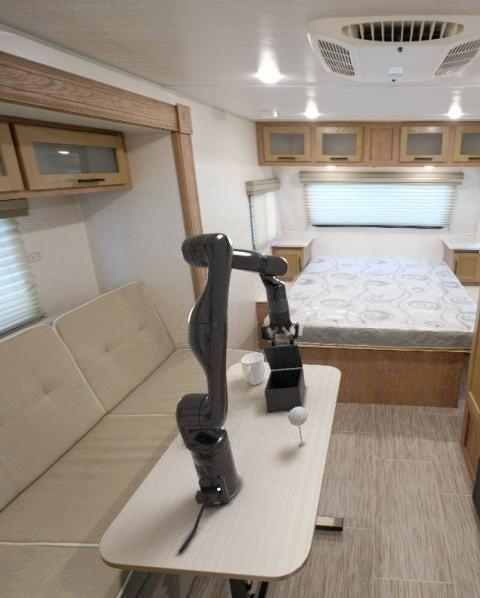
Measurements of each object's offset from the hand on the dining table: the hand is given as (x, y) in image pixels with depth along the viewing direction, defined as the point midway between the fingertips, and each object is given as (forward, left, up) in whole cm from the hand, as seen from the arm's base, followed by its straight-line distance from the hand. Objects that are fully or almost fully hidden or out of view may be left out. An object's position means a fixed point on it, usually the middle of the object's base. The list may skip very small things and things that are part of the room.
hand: (283, 348), depth 134 cm
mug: (+7, +15, -20) cm, 26 cm away
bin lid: (-3, 0, -3) cm, 4 cm away
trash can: (-6, 0, -20) cm, 21 cm away
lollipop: (-31, -8, -20) cm, 38 cm away
